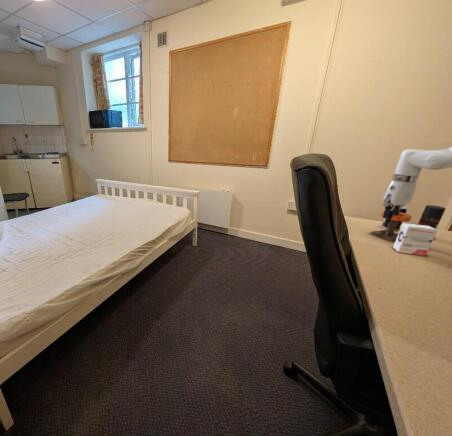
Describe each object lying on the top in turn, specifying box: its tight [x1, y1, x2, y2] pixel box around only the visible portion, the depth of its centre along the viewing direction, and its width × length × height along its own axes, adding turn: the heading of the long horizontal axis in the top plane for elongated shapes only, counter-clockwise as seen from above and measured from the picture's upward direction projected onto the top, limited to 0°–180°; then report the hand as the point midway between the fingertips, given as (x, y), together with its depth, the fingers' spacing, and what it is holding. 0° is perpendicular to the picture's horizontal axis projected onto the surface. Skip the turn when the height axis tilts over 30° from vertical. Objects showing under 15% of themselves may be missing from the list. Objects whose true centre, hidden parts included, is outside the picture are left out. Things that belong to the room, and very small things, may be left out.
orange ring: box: [380, 210, 412, 223], centre depth 103 cm, size 10×10×2 cm
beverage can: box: [381, 205, 408, 231], centre depth 114 cm, size 7×7×12 cm
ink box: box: [392, 222, 438, 257], centre depth 91 cm, size 8×5×12 cm, turn 66°
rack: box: [370, 220, 399, 243], centre depth 105 cm, size 9×9×10 cm
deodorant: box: [417, 204, 446, 230], centre depth 104 cm, size 6×6×15 cm
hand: (389, 217), depth 102 cm, fingers closed on orange ring, 2 cm apart
